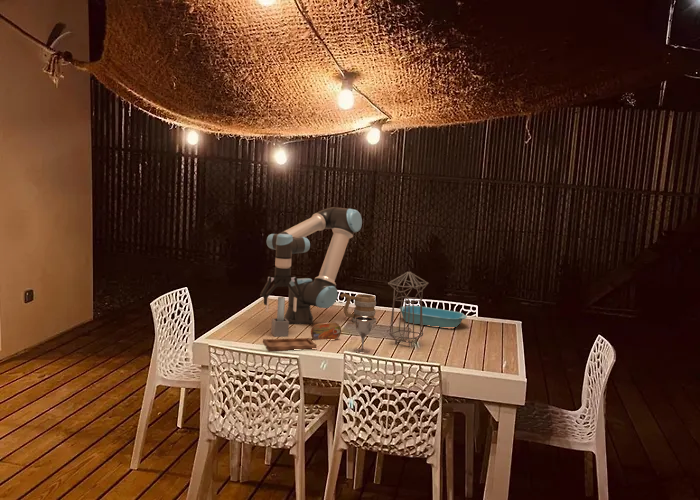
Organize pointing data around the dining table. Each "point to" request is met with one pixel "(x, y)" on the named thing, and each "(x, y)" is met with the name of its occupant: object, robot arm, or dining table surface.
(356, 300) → the tankard
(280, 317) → the dowel
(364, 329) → the wine glass
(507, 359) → the dining table surface
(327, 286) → the robot arm
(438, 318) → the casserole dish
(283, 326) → the cup
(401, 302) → the geometric lantern
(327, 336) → the tin
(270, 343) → the tray
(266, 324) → the dining table surface
